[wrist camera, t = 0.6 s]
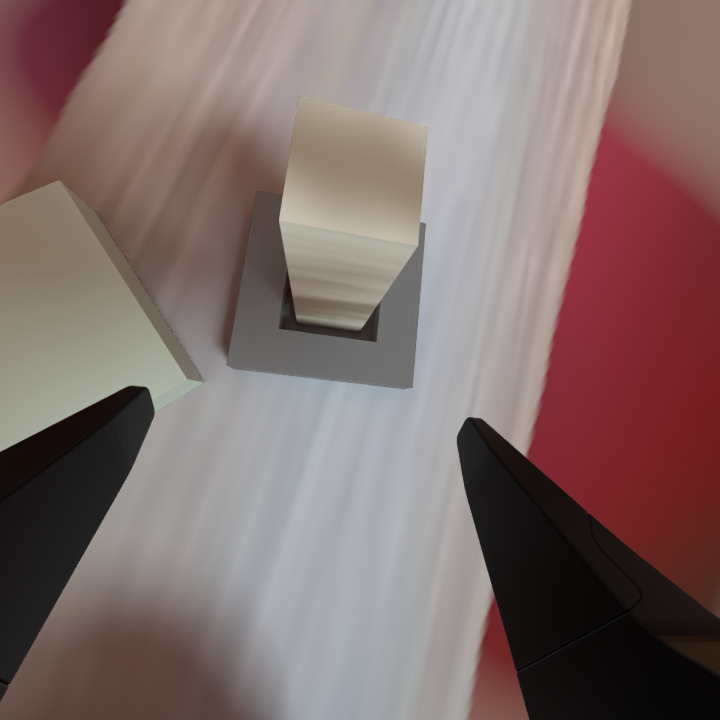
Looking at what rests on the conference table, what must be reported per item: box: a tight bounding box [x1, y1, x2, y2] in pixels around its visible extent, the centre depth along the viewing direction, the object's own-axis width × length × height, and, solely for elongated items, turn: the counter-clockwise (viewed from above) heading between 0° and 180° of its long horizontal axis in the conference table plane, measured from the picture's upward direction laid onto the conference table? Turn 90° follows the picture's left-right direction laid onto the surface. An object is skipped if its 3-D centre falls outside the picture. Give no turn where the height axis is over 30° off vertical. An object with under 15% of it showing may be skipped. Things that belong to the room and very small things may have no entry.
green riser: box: [0, 180, 205, 451], centre depth 18 cm, size 14×12×3 cm
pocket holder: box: [226, 191, 426, 389], centre depth 22 cm, size 12×12×2 cm
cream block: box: [279, 96, 428, 332], centre depth 17 cm, size 4×4×13 cm
